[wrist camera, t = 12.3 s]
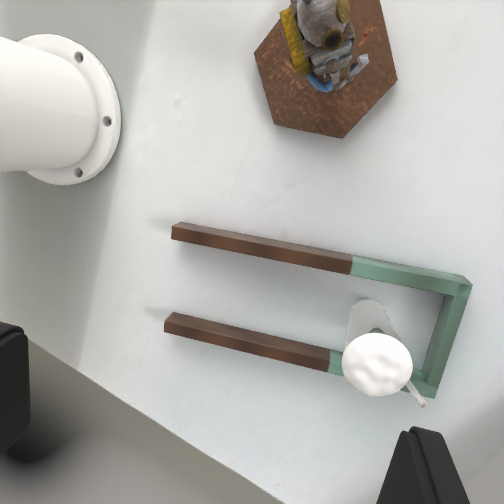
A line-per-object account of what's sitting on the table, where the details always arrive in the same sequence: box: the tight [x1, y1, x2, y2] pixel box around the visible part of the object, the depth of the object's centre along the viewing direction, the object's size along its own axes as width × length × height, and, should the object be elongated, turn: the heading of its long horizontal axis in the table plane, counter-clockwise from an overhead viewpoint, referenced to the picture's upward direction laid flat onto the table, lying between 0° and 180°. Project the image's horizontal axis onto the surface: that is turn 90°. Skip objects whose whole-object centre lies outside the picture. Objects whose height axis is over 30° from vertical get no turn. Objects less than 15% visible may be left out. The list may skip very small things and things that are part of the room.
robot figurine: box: [254, 0, 397, 139], centre depth 23 cm, size 11×9×12 cm
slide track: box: [164, 222, 473, 399], centre depth 33 cm, size 24×10×2 cm, turn 82°
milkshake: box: [342, 299, 427, 408], centre depth 28 cm, size 4×5×10 cm
